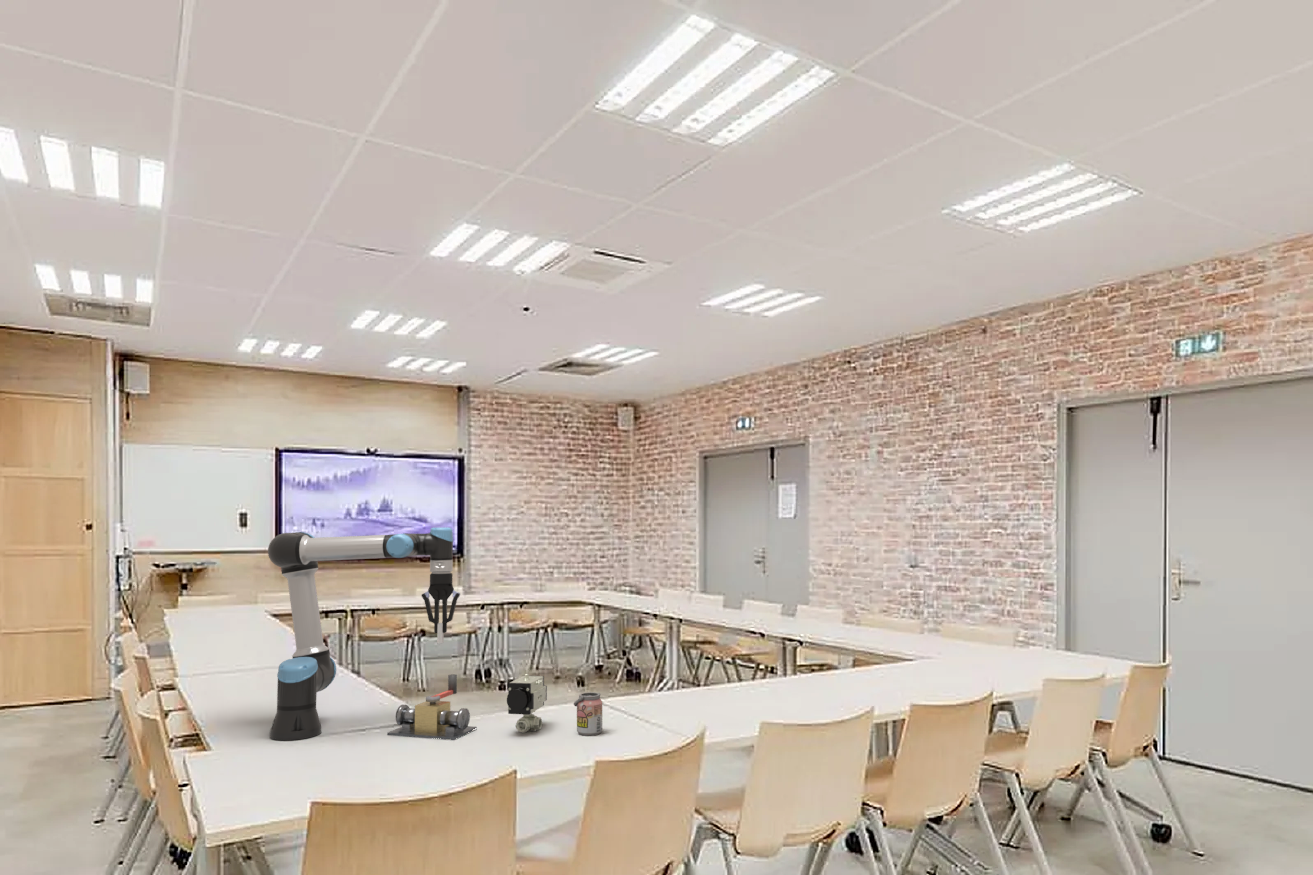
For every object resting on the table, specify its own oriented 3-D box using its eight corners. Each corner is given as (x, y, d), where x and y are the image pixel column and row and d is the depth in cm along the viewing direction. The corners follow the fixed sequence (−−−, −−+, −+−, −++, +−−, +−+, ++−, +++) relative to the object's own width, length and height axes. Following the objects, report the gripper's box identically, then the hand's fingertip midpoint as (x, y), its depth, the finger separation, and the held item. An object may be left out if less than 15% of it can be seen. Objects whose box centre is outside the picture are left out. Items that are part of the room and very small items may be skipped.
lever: (435, 702, 272) (435, 683, 272) (423, 701, 273) (423, 682, 273) (460, 692, 286) (460, 674, 287) (448, 692, 288) (449, 674, 288)
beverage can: (568, 733, 270) (568, 694, 272) (588, 728, 277) (588, 690, 278) (588, 737, 264) (588, 698, 265) (608, 732, 270) (607, 693, 271)
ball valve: (531, 738, 265) (531, 679, 266) (505, 736, 266) (505, 678, 268) (549, 724, 282) (549, 669, 284) (525, 723, 284) (525, 669, 286)
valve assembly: (387, 735, 270) (387, 704, 271) (412, 725, 283) (412, 695, 284) (454, 740, 263) (454, 708, 264) (476, 729, 276) (476, 699, 277)
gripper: (419, 573, 287) (418, 645, 284) (459, 573, 288) (458, 644, 286) (423, 572, 294) (422, 641, 292) (462, 571, 295) (461, 640, 293)
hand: (440, 642), depth 289 cm, fingers closed
